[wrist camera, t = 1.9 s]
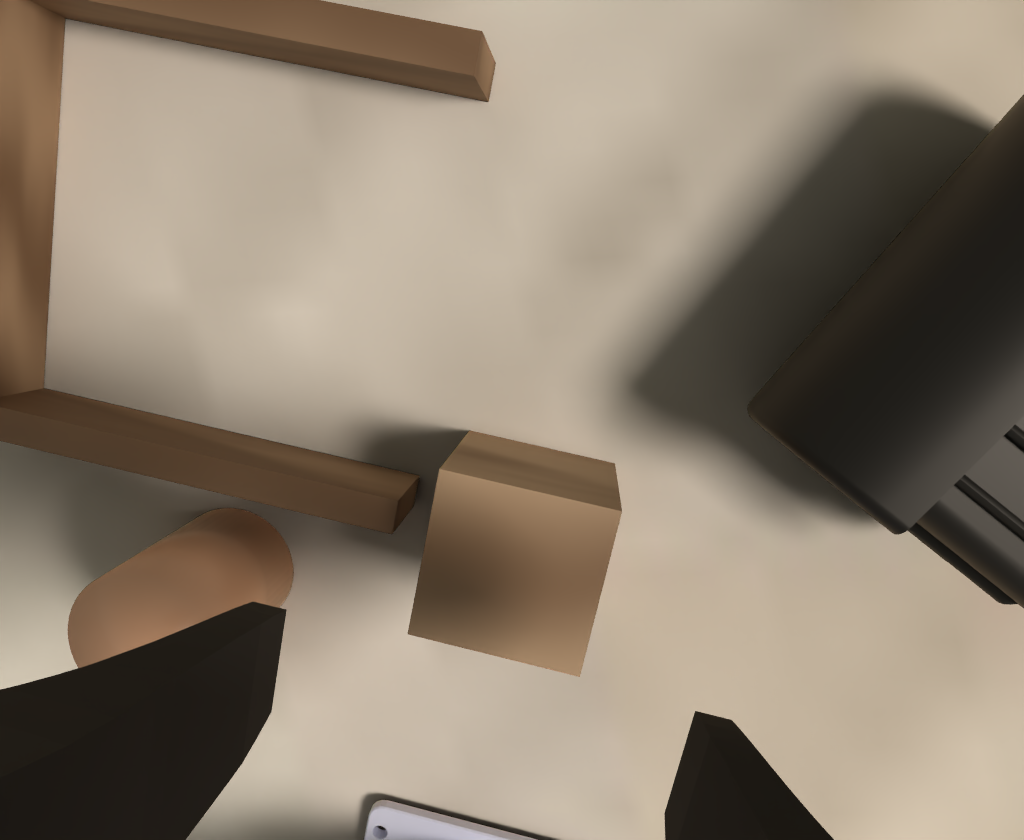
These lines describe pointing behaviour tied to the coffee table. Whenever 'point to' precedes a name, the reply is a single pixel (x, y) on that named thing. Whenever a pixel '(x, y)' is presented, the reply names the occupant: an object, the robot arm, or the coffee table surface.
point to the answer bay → (29, 229)
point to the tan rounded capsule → (181, 584)
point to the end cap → (928, 375)
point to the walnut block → (517, 552)
